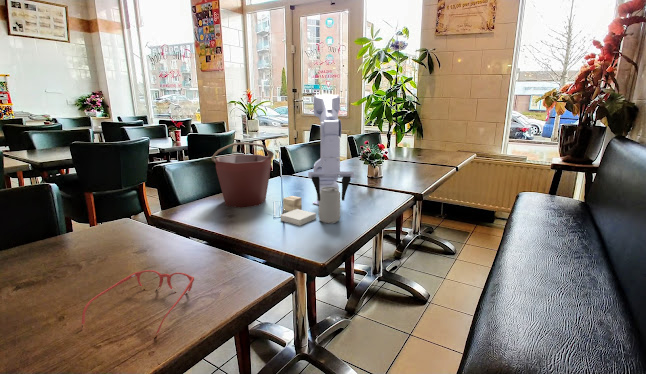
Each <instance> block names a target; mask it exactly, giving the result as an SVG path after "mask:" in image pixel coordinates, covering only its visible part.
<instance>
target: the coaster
mask: <svg viewBox="0 0 646 374" xmlns="http://www.w3.org/2000/svg"><path fill="white" fill-rule="evenodd" d="M316 219H317V213H316V212H313V211H312V212H311V211H307V210H303V209H302V210H300V209H295V210H293V211H290V212H287V211H286V212H285V213H282V214H280V221H282V222H286V223H289V224H293V225H297V226H302V225H304V224H306V223H310V222H311V221H313V220H316Z"/></svg>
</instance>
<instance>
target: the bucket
mask: <svg viewBox="0 0 646 374" xmlns="http://www.w3.org/2000/svg"><path fill="white" fill-rule="evenodd" d="M240 145H243V146H245V145H248V146H256V147H260V148H263V150H264V151H265V152H266V153H267V156H266V155H262V154H231V155H230V154H229V155H225V156H219V157H217V155H218V154H220V153H221V152H223V151H225V150H226V149H230V148H232V147H235V146H240ZM274 155H275V153H274V152H273V151H271V150H269V149H268V148H267V147H266V146H265V145H264V144H261V143H255V142H254V143H253V142H233V143H231V144H228V145H226V146H224V147H221V148H219V149H217V151H215V152H214V154H213V155H212V156H211V161H212V162H214V163H215V171H216V174H217V178H218V182H219V185H220V189H221V192H222V196H223V200H224V204H225V206H226V207H231V208H239V209H244V208H251V207H258V206H261V204H263V203H264V202H266V201H267V200H266V199H267V193H268V186H269V182H270V176H271V175H270V174H271V167H272V159H273V157H274ZM215 157H216V158H215Z"/></svg>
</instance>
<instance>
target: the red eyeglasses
mask: <svg viewBox="0 0 646 374" xmlns="http://www.w3.org/2000/svg"><path fill="white" fill-rule="evenodd" d="M146 272H147V273H154V274H156V275H158V276H159V277H158V278H159V285H158V287H157V289H158V288H159V287H160V288H161V287H162V285H163V282H164V278H166V283H167V286H168V287H169V288H170V289H172V288H173V289H174V287H173V286H172V283H171V279H172V277H173V276H175V275H182V276H185V277H186V278H187V279H188V281H189V283H188V284H187V285H186V288H185V289H184V291H183V292H182V294H181V295H180V296H179V297H178V299H177V301H175V303H174V304H173V306H172V307H170V309H169V310H168V311H167V313H166V314H164V317H163V318H162V320H161V322H160V324H159V325H158V328H157V331H156V333H155V335H156V334H157V333H158V332H160V331H161V327H162V325H163V323H164V322H165V319H166V318H167V316H168V315H169V314H170V313H171V312H172V310H173V309H174V308H175V307H176V306H177V305H178V304H179V303H180V301H181V299H182V298H183V297H184V296H185V295H186V294H185V293H186V292H187V291H189V292H190V291H191V290H192V288H193V283H194V281H195V277H194V276H191V275H190V274H187V273H184V272H173V273H171V274H169V273H163V274H162V273H160V272H159V271H157V270H153V269H149V270H148V269H147V270H145V269H144V270H141V271H136V272H134V273H131V274H130V275H128V276H126V277H125V278H122V279H121V280H120V281H118V282H117V283H115V284H113V285H112V286H110V287H108V288H107V289H105V290H104V291H102V292H100V293H99V294H96V296H94V297H93V298H92V299H90V300H89V301H88V303H86V304H85V306H84V308H83V311H82V316H81V325H82V324H84V323H85V324H86V321H85V320H86V312H87V309H88V308H89V305H91V303H92V302H94V301H95V300H97V299H98V298H99V297H101V296H102V295H104V294H105V293H107V292H109V291H111V290H113V289H114V288H116V287H117V286H119V285H122V284H124V283H125V282H127V281H128V280H131V279H132V278H134V277H136V279H137V283H138V285H139V287H140V286H143V285H142V283H141V282H142V281H141V280H140V278H141V275H142V274H143V273H146ZM160 288H159V289H160ZM158 334H159V333H158Z"/></svg>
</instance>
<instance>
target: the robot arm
mask: <svg viewBox="0 0 646 374" xmlns="http://www.w3.org/2000/svg"><path fill="white" fill-rule="evenodd" d="M340 97H341V96H340V95H339V94H314V95H313V114H314V117H316V118H318V119H319V122H320V125H319V126H320V127H319V128H320V130H319V131H320V158H318V160H316V161H315V162H314V164H313V171H308V173H307V178H308V179H311V181H312V183H313V186H314V189H315V191H316V201H312V204H313V205H318V206H319V201H320V191H321V188H323V187H336V188H338V189H339V190H338V191H339V192H340V186H339V184H338V180H339V179H340V178H341V201H343V202H344V201H345V199H346V198H345V197H346V192H347V190H348V188H349V185H350V182H351V180H352V179H353V178H355V171H341V138H342V132H343V131H342V126H343V124H342V120H341V119H339V117H338V115H339V113H340V112H339V111H340V108H341V98H340Z"/></svg>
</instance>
